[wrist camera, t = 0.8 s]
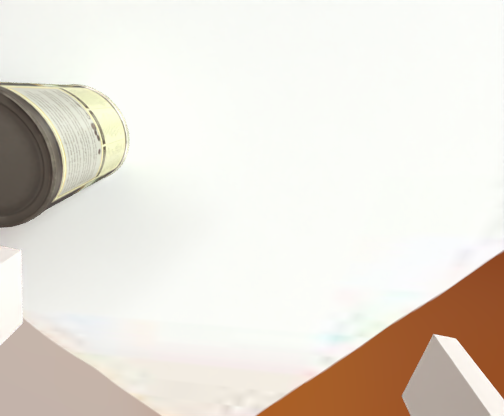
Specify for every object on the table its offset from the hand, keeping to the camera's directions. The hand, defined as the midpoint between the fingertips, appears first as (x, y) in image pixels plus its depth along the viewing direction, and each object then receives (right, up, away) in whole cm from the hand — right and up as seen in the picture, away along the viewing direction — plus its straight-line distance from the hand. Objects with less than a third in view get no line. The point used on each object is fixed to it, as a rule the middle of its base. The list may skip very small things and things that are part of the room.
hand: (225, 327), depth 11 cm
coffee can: (-17, +12, +25) cm, 33 cm away
